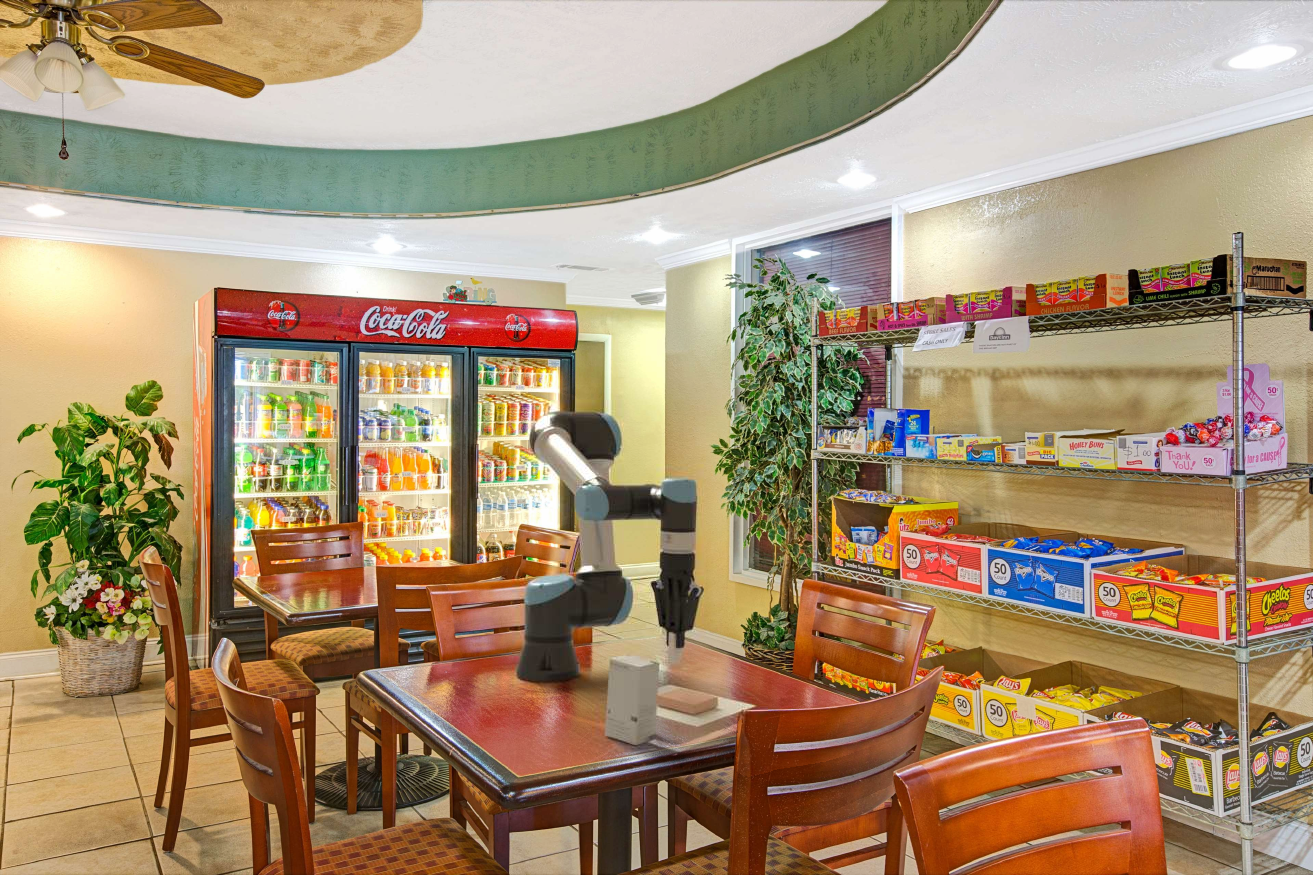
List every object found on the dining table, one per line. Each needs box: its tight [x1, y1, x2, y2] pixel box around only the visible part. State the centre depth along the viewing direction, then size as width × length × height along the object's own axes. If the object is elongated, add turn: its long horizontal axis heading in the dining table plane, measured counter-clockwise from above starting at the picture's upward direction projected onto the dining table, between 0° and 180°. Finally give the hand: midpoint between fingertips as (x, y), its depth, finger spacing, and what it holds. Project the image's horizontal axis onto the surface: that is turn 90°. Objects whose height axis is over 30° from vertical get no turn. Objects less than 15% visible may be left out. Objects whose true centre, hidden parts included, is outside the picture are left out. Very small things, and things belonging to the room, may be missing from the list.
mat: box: [656, 684, 756, 728], centre depth 188 cm, size 24×20×1 cm
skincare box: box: [604, 654, 660, 746], centre depth 169 cm, size 8×6×15 cm
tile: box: [657, 687, 719, 715], centre depth 186 cm, size 2×8×10 cm
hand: (674, 662), depth 189 cm, fingers closed
